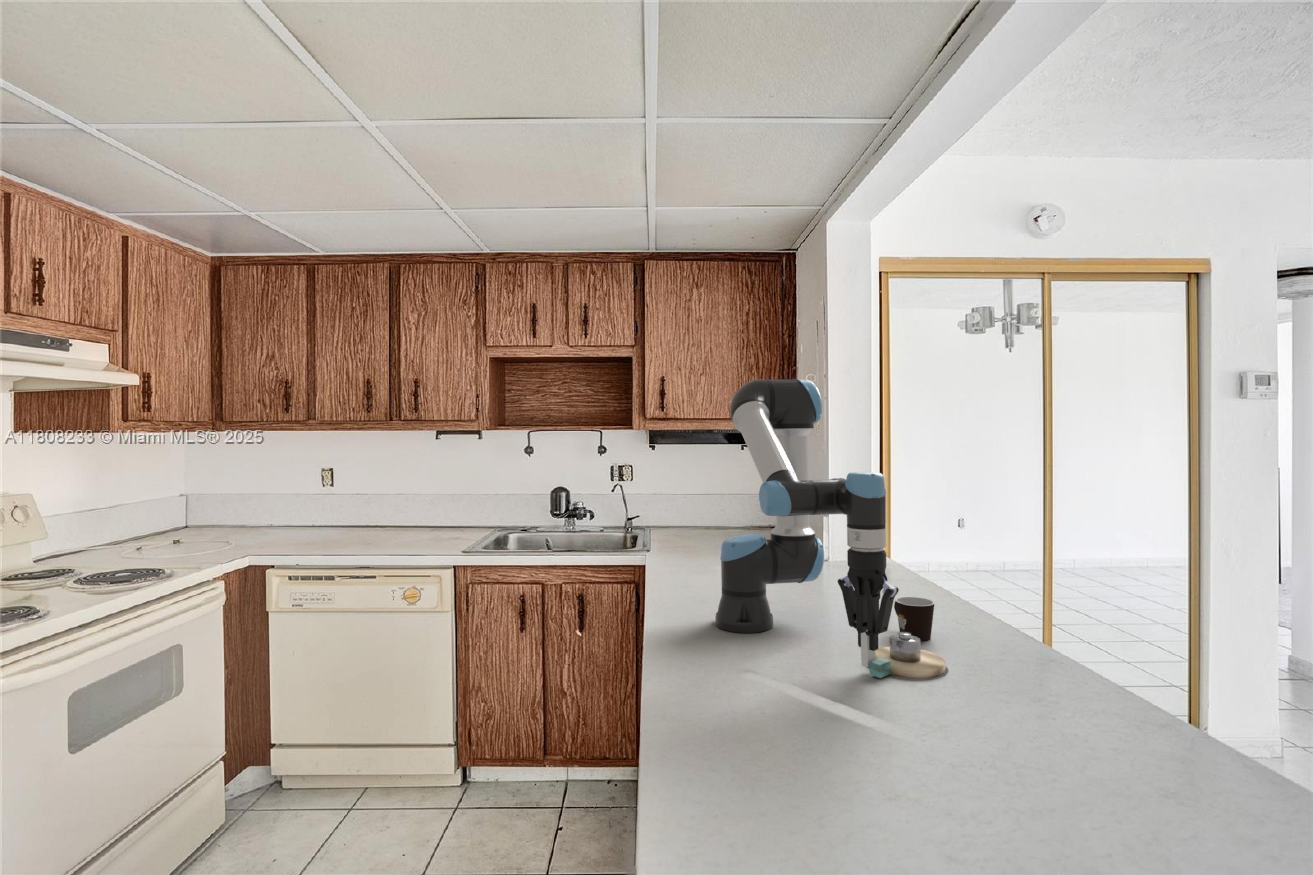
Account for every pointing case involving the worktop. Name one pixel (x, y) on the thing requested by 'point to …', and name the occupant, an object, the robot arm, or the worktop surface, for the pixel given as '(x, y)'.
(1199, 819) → the worktop surface
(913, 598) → the coffee mug
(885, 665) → the platter
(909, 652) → the cover
